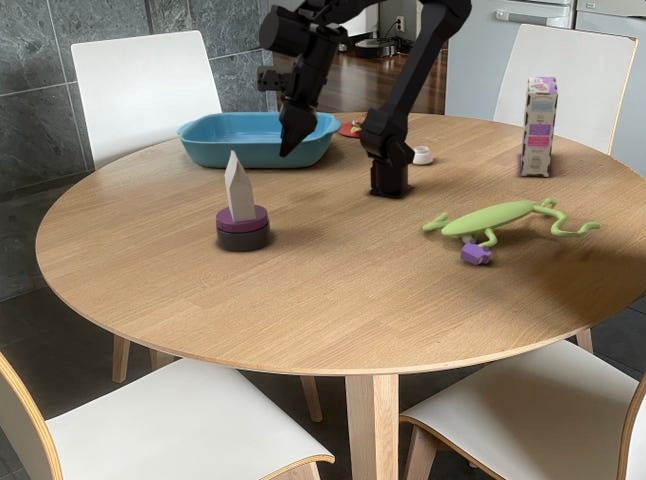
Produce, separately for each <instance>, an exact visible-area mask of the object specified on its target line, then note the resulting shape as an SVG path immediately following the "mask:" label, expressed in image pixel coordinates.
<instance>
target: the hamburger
mask: <svg viewBox="0 0 646 480" xmlns="http://www.w3.org/2000/svg"><path fill="white" fill-rule="evenodd" d="M366 115H367V112H360V113H359V114H358V115H357V116H356V118H355V119H354V120H351V121H346V122H343V123H342V126H341V128H340V130H339V131H337V132H336V133H339V134H340V135H343V136H347V137H356V138H359V134H360V131H361V129H362V128H360V125H361V124H362V123H363V122H364V120H365V118H366Z"/></svg>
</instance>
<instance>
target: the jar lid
mask: <svg viewBox="0 0 646 480" xmlns="http://www.w3.org/2000/svg"><path fill="white" fill-rule="evenodd" d="M254 207H255V215H256V220H248V221H241V222H234V221H233V218H232V215H231V212H230V209H229V206H227V207H223V209H220V210H219V211H218V212H217V213H216V214H215V225H216V224H217V226H218V228H219V229H221V230H223V231H227V232H236V233H239V232H248V231H253V230H256V229H259V228H261V227H263V226H264V225H266V224H267V222H268V219H269V213H268V210H267V208H265V206H261V205H259V204H254Z"/></svg>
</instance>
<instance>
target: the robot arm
mask: <svg viewBox="0 0 646 480" xmlns="http://www.w3.org/2000/svg"><path fill="white" fill-rule="evenodd" d="M386 1H387V2H388V0H303V1H302V2H301V3H300V4H299V5H298V6H297V7H296V8H295V9H294V10H293V11H292V10H289V9H287V8H286V7H284V6H281V5H279V4H275V3H273V4H271V7H270V11H269V12H268V13H267V14H266V15H265V16H264V18H263V20H262V22H261V23H260V25H259V30H258V43H259V46H260V48H261V49H262V50H266V51H269V52H272V53H276V54H278V55H282V56H286V57H289V58H293V59H295V58H297V59H295V60H293V61H292V64H291V66H282V65H258V66H257V68H256V90H257V91H258V92H262V93H266V92H280V96H279V97H280V100H281V103H282V104H281V107H280V110H279V112H280V113H279V122H280V123H281V124H282V129H281V136H280V138H281V139H282V140H281V146H280V152H279V156H280V157H283V158H285V157H286V156H287V155H288V154H289V153H290V152H291V151H292V150H293V149H294V148H295V147H297V145H299V144H300V143H301V142H302V141H303V140H304V139H305V138H306V137H307V136H308V135H310V134H311V133H312V132H314V131H315V128H316V126H317V123H318V116H317V113H316V112H317V111H316V109H317V108H318V106H319V103H320V97H321V94H322V92H323V89H324V86H327V83H328V79H329V78H328V76H329V73H330V71H331V68H332V66H333V63H334V60H335V59H336V56H337V53H338V50H339V48H340V45H342V46H345V47H349V48H351V47H352V46H353V43H352V40H351V38H350V35H349V30H348V29H347V28H346V27H344V26H343V24H347V23H348V22H349V21H351V20H353V19H355V18H356V17H358V16H360V15H361V14H362V13H363V12H364V11H365V9H367V8H369V7H371V6H374V5H377V4H380V3H384V2H386ZM417 1H418V2H419V3H420V4H421V5H422V8H421V11H420V29H419V33H418V35H417V37H416V39H415V41H414V43H413V45H412V47H411V49H410V51H409V53H408V55H407V57H406V59H405V61H404V63H403V65H402V67H401V70H400V71H399V74H398V75H397V77H396V79H395V82H394V84H393V85H392V88H391V90H390V91H389V94H388V96H387V98H386V100H385V101H384V103H383V104H382V105H381V106H380V107H378V108H374V107H369V109H368V110H367V112H366V113H367V115H366V118H365V120H364V122H363V123H362V124H361V125H360V128H362V129H361V131H360V134H359V137H358V140H359V143H360V146H361V147H362V149H363V150H364V151H365V153H366V155H367V157H368V158H369V159H373V160H371V167H370V168H369V175H370V176H369V177H370V178H369V179H370V188H371V189H370V190H369V191H368V194H369V195H373V196H380V197H385V198H386V197H387V198H392V199H399V198H401V197H403V196H404V195H405V194H406V193H407V192H408V191H409V190H411V189H412V184H409V165H412V164H414V163H413V160H414V157H415V151H414V148H412V147H411V146H409V144H407V142H406V141H407V140H406V139H407V137H408V134H409V115H410V113H411V111H412V109H413V107H414V105H415V103H416V101H417V99H418V97H419V95H420V93H421V91H422V90H423V87H424V85H425V83H426V81H427V79H428V78H429V76H430V74H431V71H432V68H433V67H434V65H435V63H436V61H437V59H438V57H439V56H440V53H441V51H442V49H443V47H444V46H445V44H446V42H448V41H449V40H451V38H452V37H454V36H455V35H456V34H457V33H458V32H460V31H461V30H462V28H463V26H464V25H465V24H466V22H467V20H468V19H469V17H470V16H471V13H472V11H473V4H472V0H417ZM331 24H334V25H335V24H336V25H339V26H338V27H331V26H330V25H331ZM311 25H317V26H311Z"/></svg>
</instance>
